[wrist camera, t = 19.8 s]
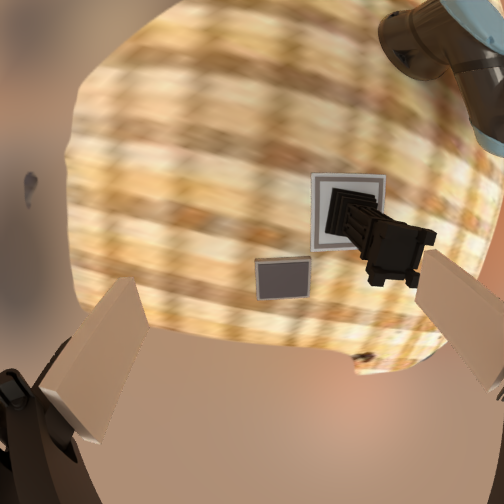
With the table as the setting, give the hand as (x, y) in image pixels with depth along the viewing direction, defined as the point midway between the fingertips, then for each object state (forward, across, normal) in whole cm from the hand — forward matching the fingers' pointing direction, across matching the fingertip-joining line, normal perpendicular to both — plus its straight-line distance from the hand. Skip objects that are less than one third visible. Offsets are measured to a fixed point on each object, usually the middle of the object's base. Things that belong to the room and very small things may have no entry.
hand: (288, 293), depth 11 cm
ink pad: (+35, +3, -18) cm, 40 cm away
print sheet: (+35, +16, -6) cm, 39 cm away
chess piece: (+35, +16, -6) cm, 39 cm away
